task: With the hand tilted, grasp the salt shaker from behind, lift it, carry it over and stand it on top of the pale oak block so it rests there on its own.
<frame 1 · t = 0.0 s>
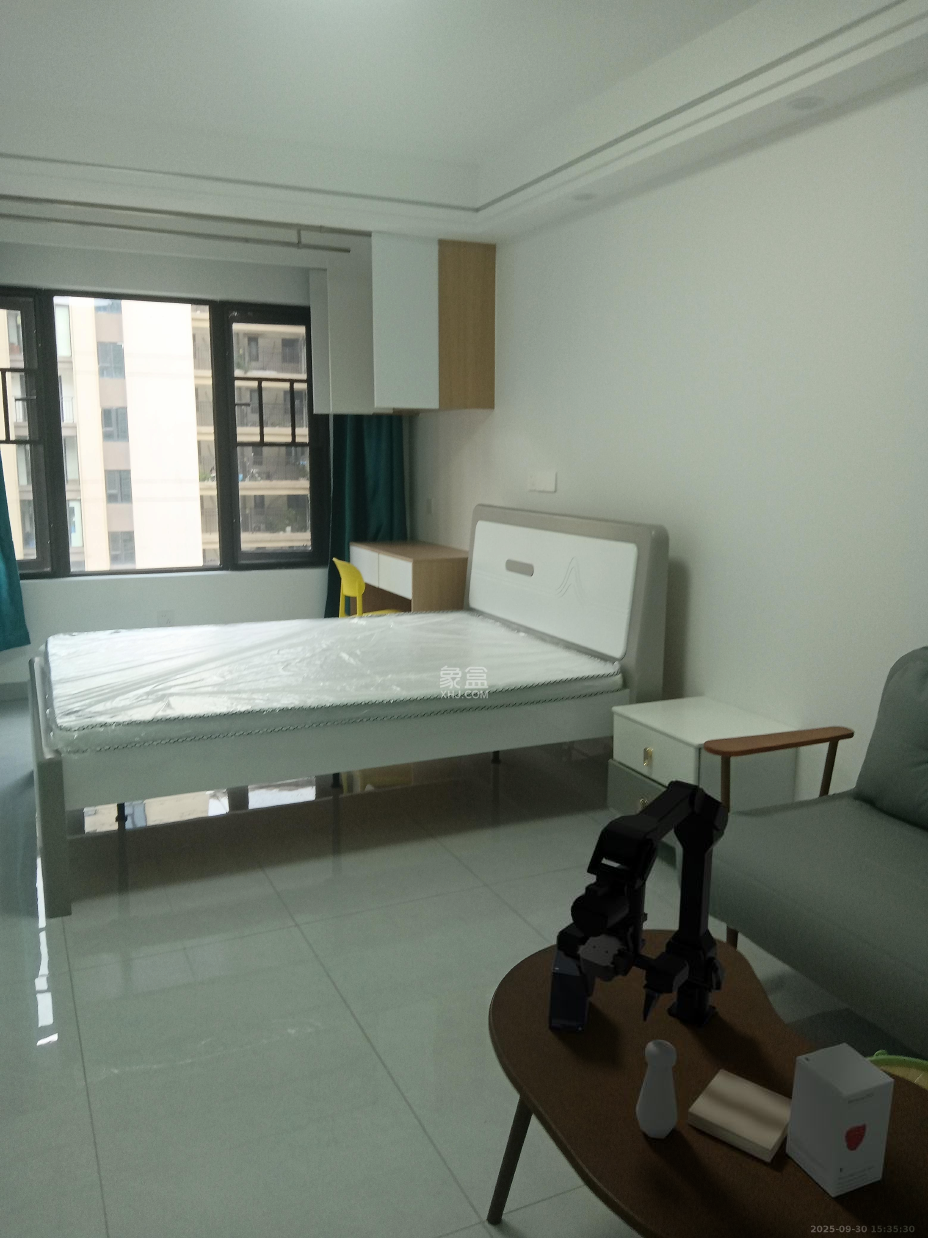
hand: (617, 1008, 137), 15 cm above the table, tool pointing down, fingers open, 9 cm apart
supplement box: (833, 1168, 128), on the table
small box: (569, 1014, 161), on the table
oak block: (743, 1122, 136), on the table
salt shaker: (655, 1130, 134), on the table
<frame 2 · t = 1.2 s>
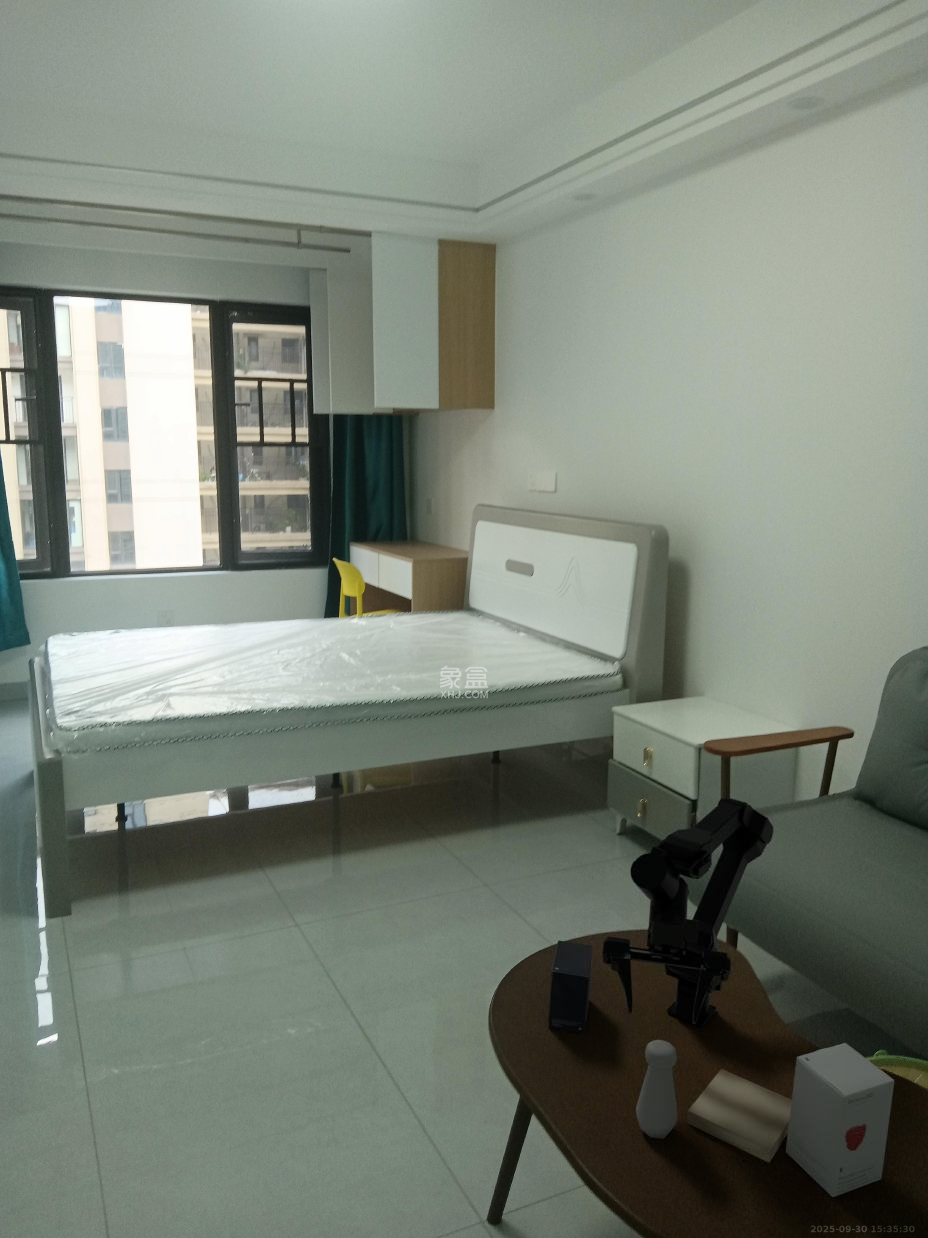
hand: (662, 1018, 138), 13 cm above the table, tool tilted 45°, fingers open, 9 cm apart
nothing on the table moved.
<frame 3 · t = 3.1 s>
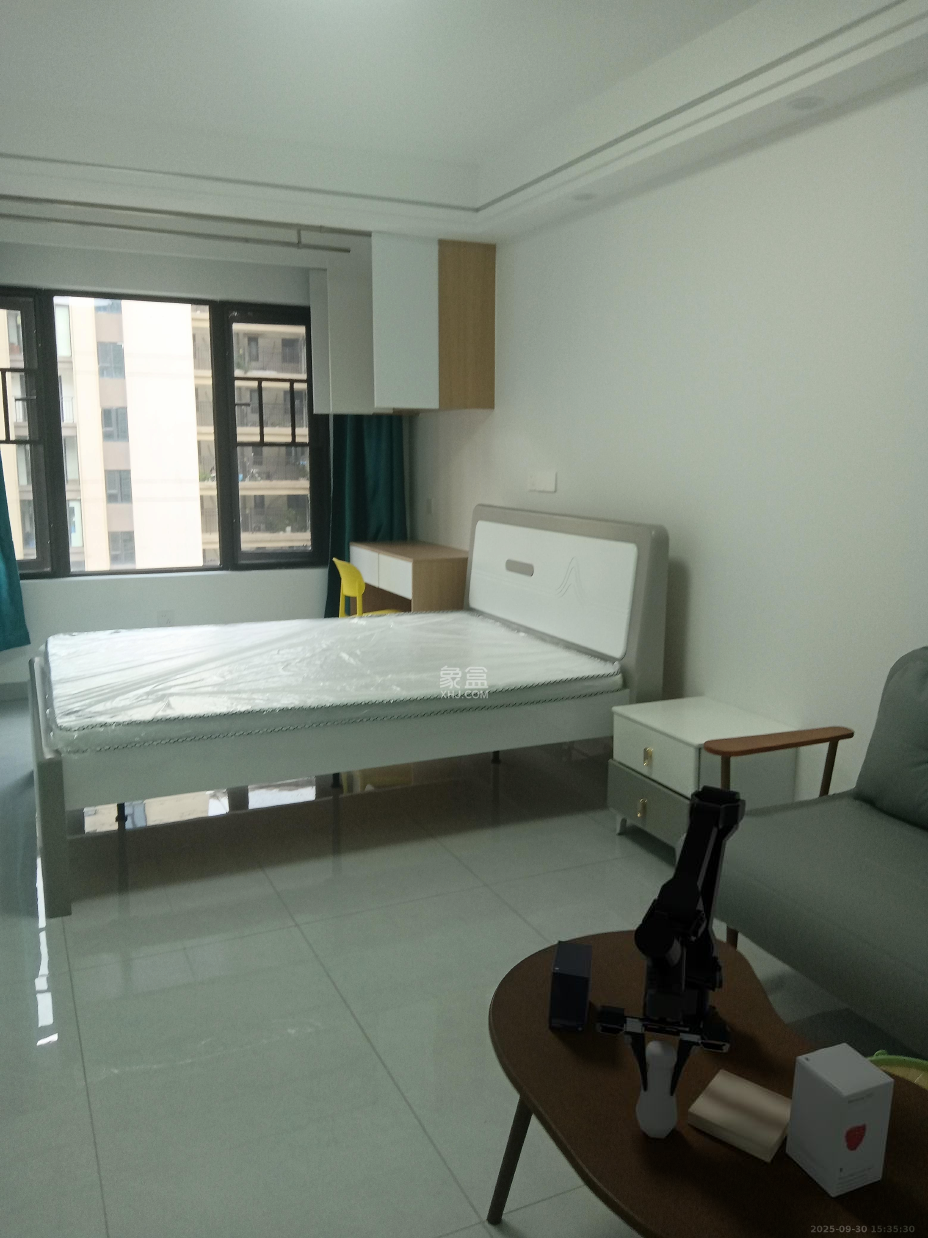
hand: (658, 1093, 131), 7 cm above the table, tool tilted 45°, fingers closed on salt shaker, 3 cm apart
salt shaker: (655, 1130, 134), on the table, touching gripper
everything else where it was.
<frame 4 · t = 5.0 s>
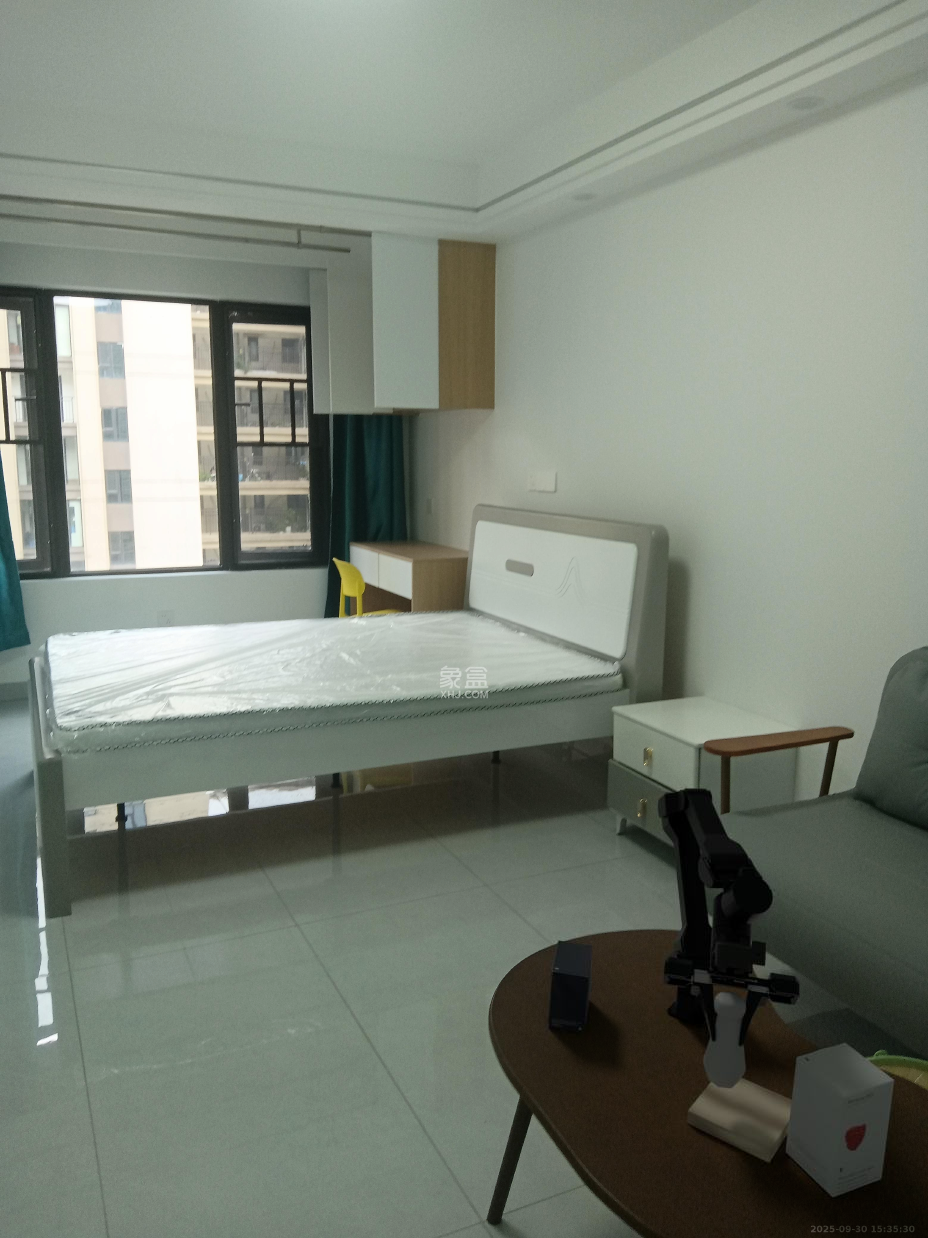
hand: (727, 1043, 132), 13 cm above the table, tool tilted 45°, fingers closed on salt shaker, 3 cm apart
salt shaker: (722, 1080, 135), point 6 cm above the table, touching gripper
everything else where it was.
when the fingers open (10 cm above the table, at t = 6.8 s): salt shaker stays where it is, resting on oak block.
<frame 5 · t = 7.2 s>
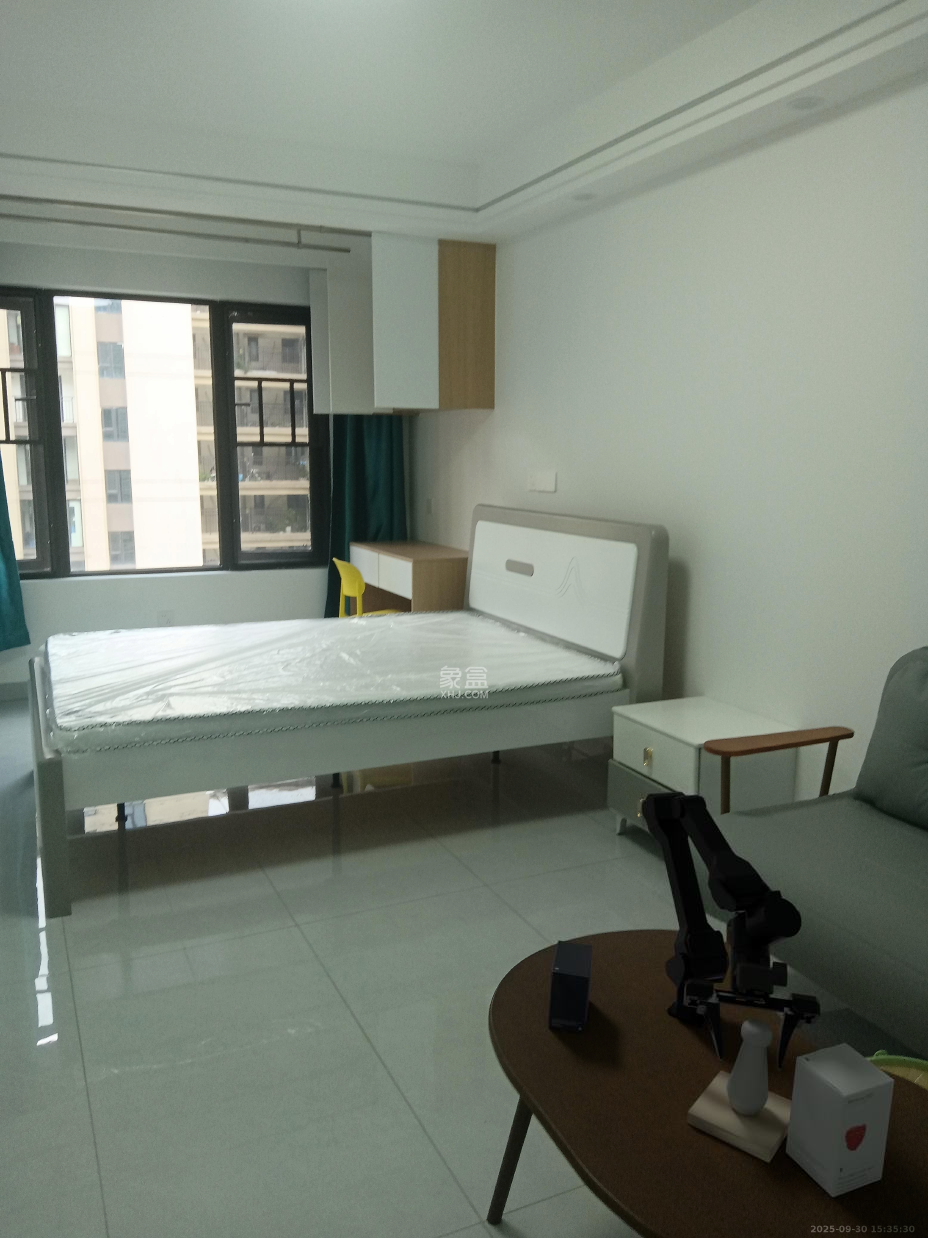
hand: (749, 1064, 133), 10 cm above the table, tool tilted 45°, fingers open, 8 cm apart
oak block: (742, 1123, 137), on the table, touching salt shaker
salt shaker: (744, 1108, 136), point 2 cm above the table, touching oak block
everything else where it was.
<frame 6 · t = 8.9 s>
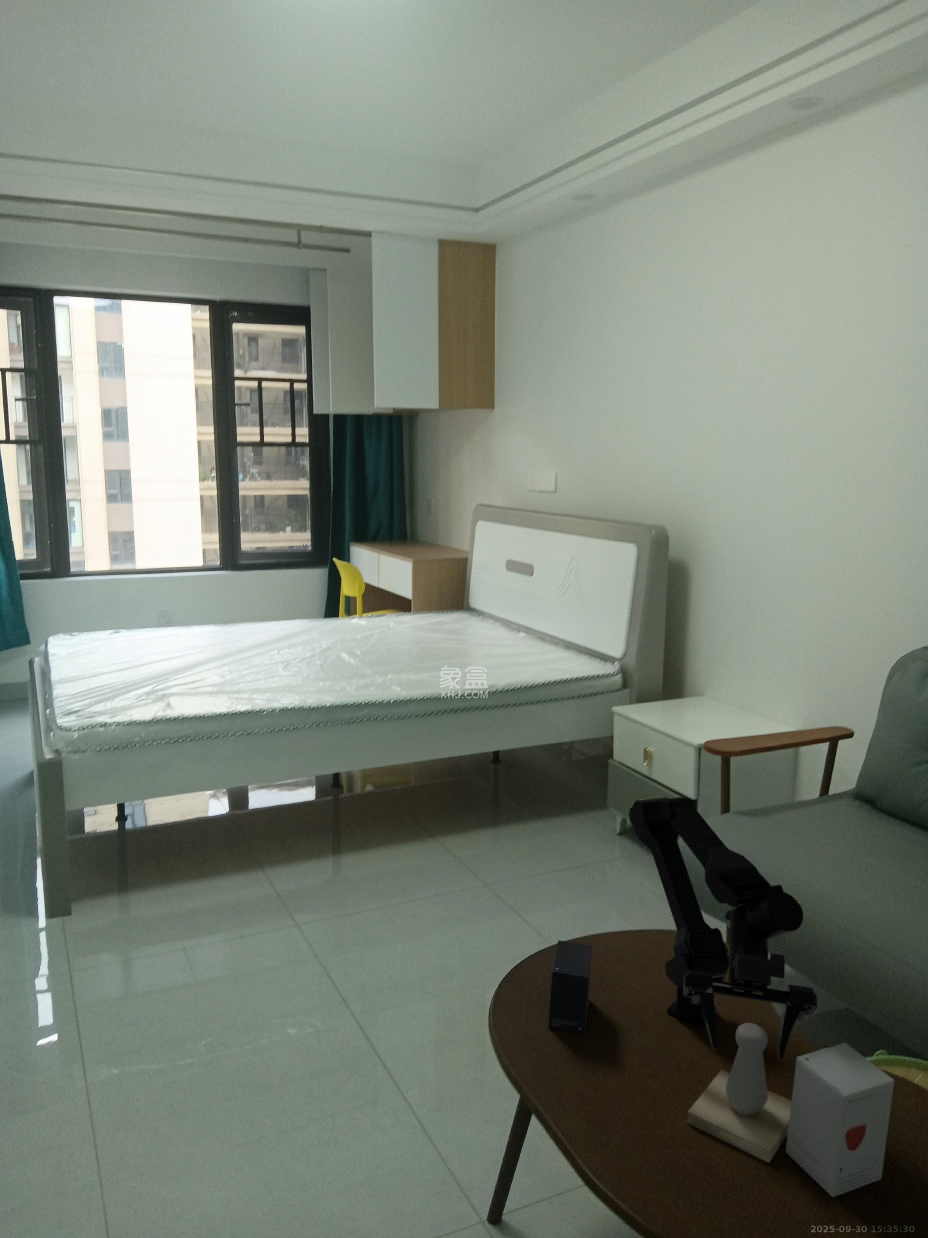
hand: (747, 1054, 136), 10 cm above the table, tool tilted 45°, fingers open, 9 cm apart
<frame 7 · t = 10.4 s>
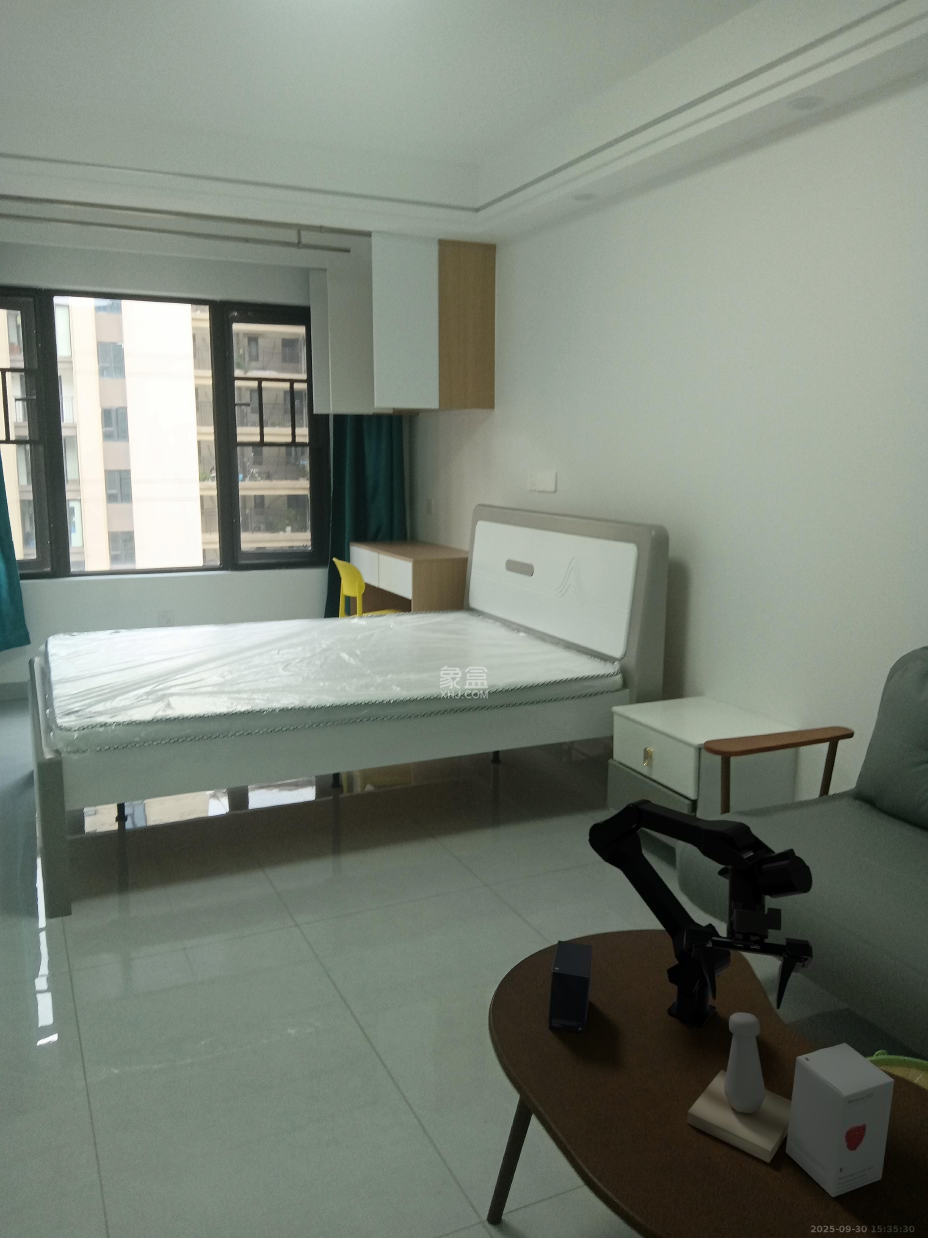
hand: (745, 1004, 141), 14 cm above the table, tool tilted 45°, fingers open, 9 cm apart
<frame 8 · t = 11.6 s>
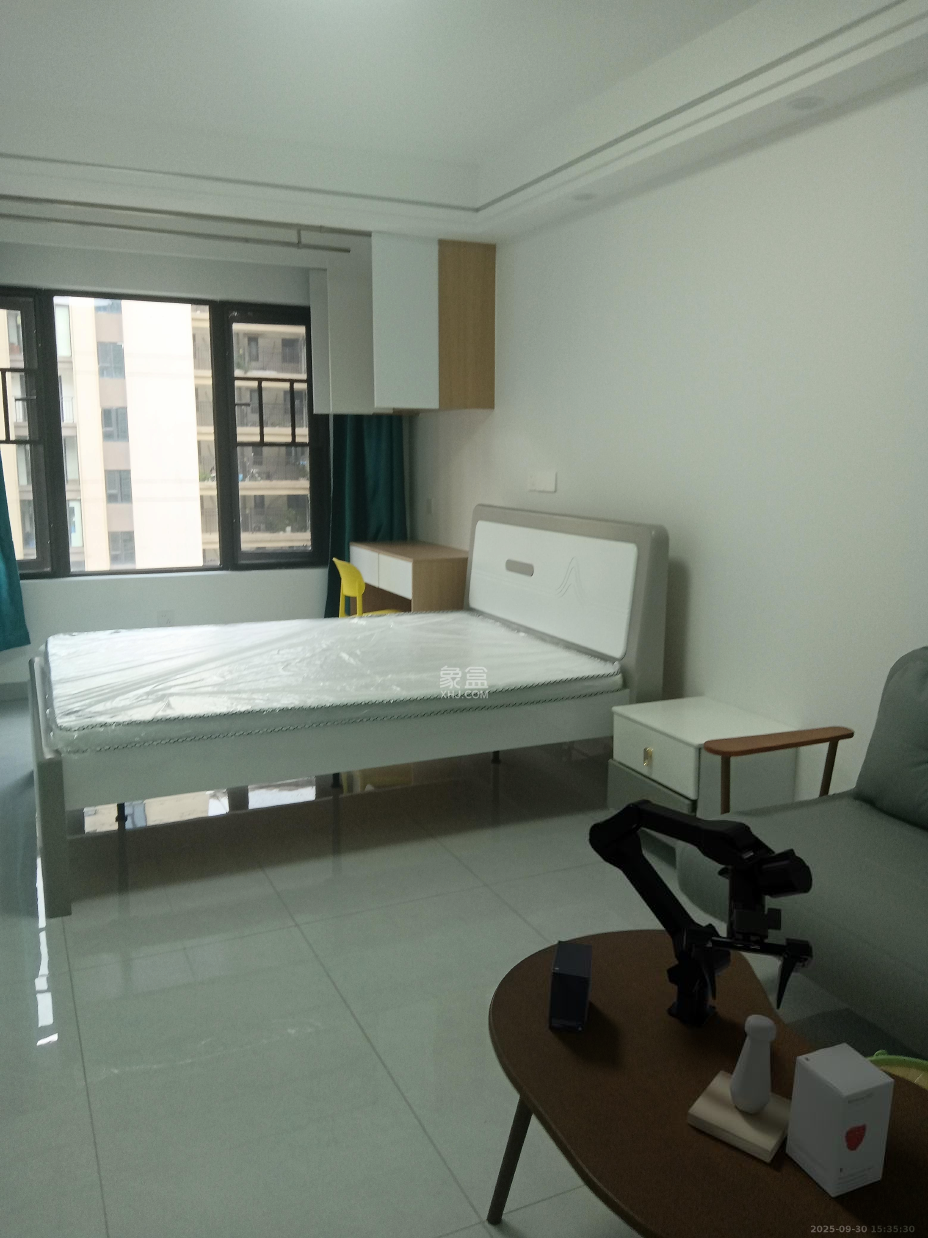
hand: (745, 1004, 141), 14 cm above the table, tool tilted 45°, fingers open, 9 cm apart
at the end: salt shaker inside the target area on the oak block (0.4 cm from its centre), point 2.8 cm above the oak block's base; salt shaker touching oak block; salt shaker tilted 14° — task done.
